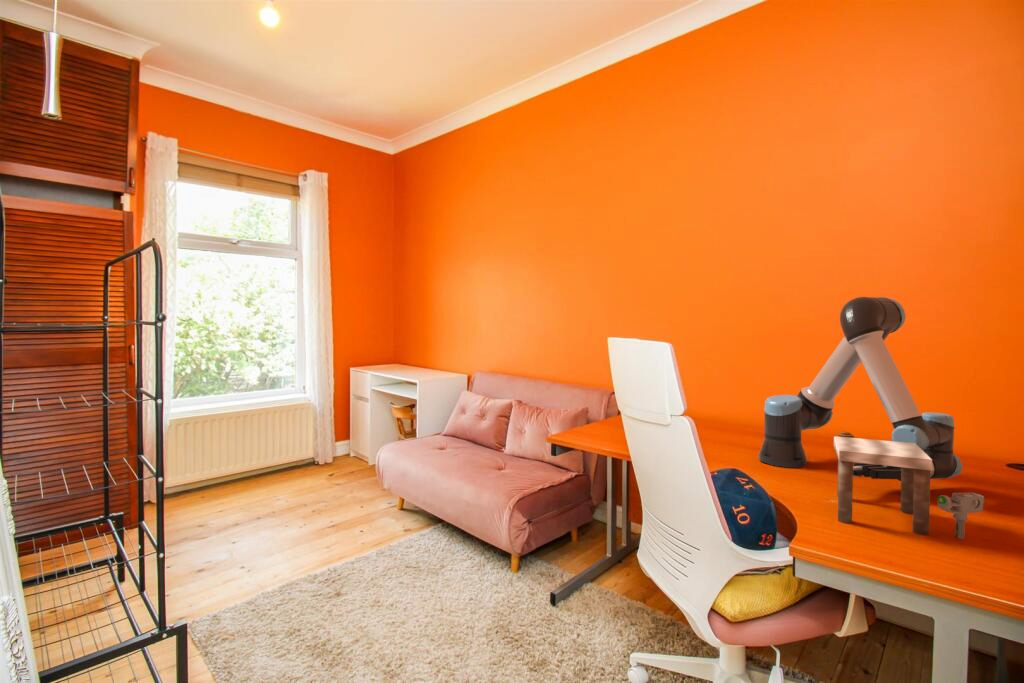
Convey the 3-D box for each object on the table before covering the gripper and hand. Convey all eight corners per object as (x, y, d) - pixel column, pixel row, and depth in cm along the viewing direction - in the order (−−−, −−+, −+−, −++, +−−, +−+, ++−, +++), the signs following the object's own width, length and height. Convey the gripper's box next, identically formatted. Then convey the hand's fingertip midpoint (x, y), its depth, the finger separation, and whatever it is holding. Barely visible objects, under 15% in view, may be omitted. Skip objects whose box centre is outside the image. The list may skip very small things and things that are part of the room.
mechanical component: (933, 535, 117) (934, 493, 116) (973, 534, 118) (974, 491, 117) (945, 541, 114) (946, 497, 113) (986, 539, 115) (987, 496, 114)
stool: (838, 522, 125) (839, 450, 125) (832, 499, 141) (833, 436, 140) (930, 536, 116) (932, 459, 116) (913, 511, 132) (915, 443, 132)
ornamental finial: (836, 449, 197) (859, 452, 192) (832, 452, 192) (855, 456, 187) (836, 429, 197) (859, 431, 192) (832, 432, 192) (855, 435, 186)
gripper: (930, 487, 142) (860, 493, 138) (889, 473, 155) (823, 478, 150) (931, 461, 142) (861, 466, 137) (890, 449, 154) (824, 453, 149)
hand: (841, 472), depth 143 cm, fingers closed
